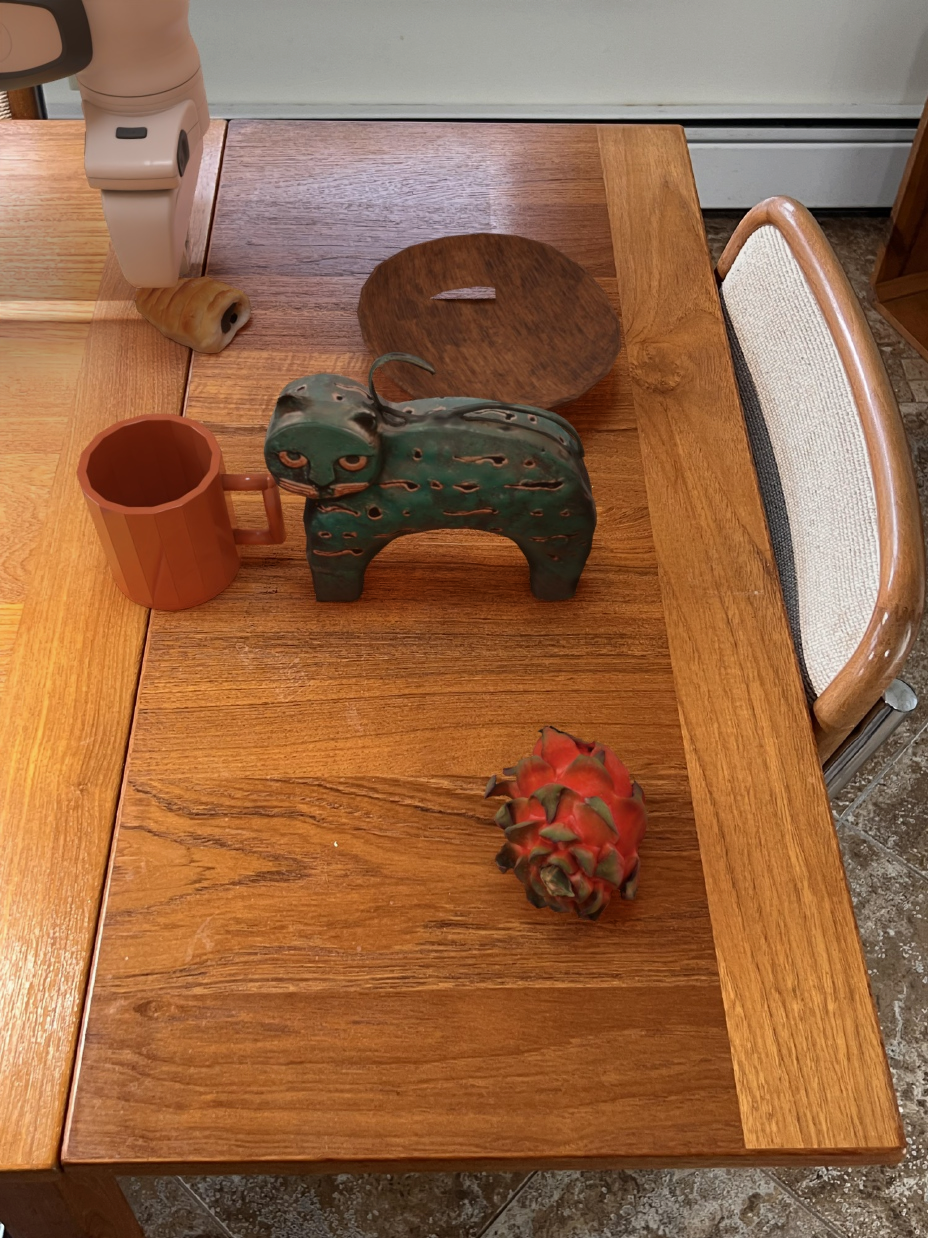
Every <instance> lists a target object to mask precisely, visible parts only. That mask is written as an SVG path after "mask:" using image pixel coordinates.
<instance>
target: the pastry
mask: <svg viewBox="0 0 928 1238" xmlns="http://www.w3.org/2000/svg"><path fill="white" fill-rule="evenodd" d="M134 294H135V295H134V296H135V299H134V306H135V309H136V311H137V313H138V314H140V315H141V316H142V317H143V318H144V319H145V320H147V321H148V322H149V323H150V324H151V325H152V326H153V327H154V328H156V329H157V330H159V332H160V333H161V335H163V337H165V338H168V339H171V340H172V341H174V342H175V343H178V344H180V345H182V346H184V347H185V346H186V347H189V348H191V350H193V351H195V352H198V353H201V354H218V353H221V352H222V351H223V350H224V349H225V347H227V346H228V345H229V344H230V343H231V341H232V340H233V338H234V337H235V335H236V333H237V331H238V330H240V329H241V328H242V327H243V326H244V325H246V323H247V322H248V321H249V320H250V318H251V315H252V305H251V301H250V298H249V296H248V295H247V294H246V293H245V292H244V291H243V290H242V289H238V288H236V287H232V286H231V285H228V284H227V283H225V282H222V281H219V280H214V279H213V278H211V277H209V276H206V275H205V276H200V277H195V278H193V277H192V278H191V277H183V276H181V275H179V277H178V282H177V284H176V285H175V286H174V287H169V288H138V289H137V290H135V291H134Z"/></svg>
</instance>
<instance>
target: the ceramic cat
mask: <svg viewBox="0 0 928 1238" xmlns="http://www.w3.org/2000/svg"><path fill="white" fill-rule="evenodd" d="M388 361H402V362H406V363H409V364H413V365H415V366H417V367H419V368H421V369H424V370H426V371H428V372H430V373H431V374H432V375H433V374H435V373H436V372H435V370H434V369H433V367H432V366H431V365H430V364H429V363H427V362H426V361H425V360H423V359H421V358H419V357H417V356H414V355H411V354H407V353H402V352H392V353H387V354H385V355H382V356H380V357H377V359H376V360H374V361H372V363H371V366H370V369H369V372H368V386H367V385H365V384H364V383H361V382H359V381H357V380H355V379H352V378H350V377H348V376H345V375H341V374H337V373H328V372H321V373H315V374H310V375H305V376H303V377H299V378H297V379H295V380H293V381H290V382H288V383H287V384H286V385H285V386H284V387H283V389H282V390H280V393H279V396H278V398H277V400H276V403H275V406H274V408H273V411H272V413H271V416H270V419H269V423H268V425H267V429H266V433H265V437H264V446H263V458H264V463H265V465H266V469H267V470H268V472H269V474H271V475H272V476H273V478H274V480H275V482H276V484H277V485H278V487H279V488H281V489H282V490H284V491H286V492H288V493H290V494H293V495H297V496H301V497H304V498H305V502H304V508H303V515H302V523H303V526H304V534H305V536H306V537H305V558H306V562H307V564H308V567H309V570H310V574H311V578H312V584H313V591H314V596H315V603H354V602H356V601H358V600H359V599H360V598H361V596H362V595H363V591H364V587H365V584H366V583H365V581H366V580H365V574H366V572H367V571H366V570H367V568H368V566H369V565H370V563H371V562H372V561H373V560H374V559H375V557H376V556H378V554H379V553H380V552H382V550H383V549H384V548H386V547H387V546H388V545H389V544H391V543H392V542H393V541H394V540H397V539H399V538H401V537H404V536H410V535H414V534H420V533H425V532H431V531H437V530H472V531H480V532H485V533H491V534H494V535H498V536H501V537H504V538H507V539H509V540H510V541H512V542H513V543H514V544H516V545H517V547H518V548H519V550H520V552H521V553H522V555H523V556H524V557H525V560H526V562H527V566H528V572H529V578H528V580H529V581H528V582H529V588H530V592H531V593H532V595H533V596H534V598H535V599H536V600H543V601H545V602H558V601H559V602H560V601H566V600H571V599H573V598H574V597H575V596H576V594H577V590H578V586H579V583H580V581H581V577H582V574H583V571H584V570H585V566H586V564H587V561H588V559H589V557H590V555H591V551H592V548H593V542H594V535H595V531H596V528H597V524H598V511H597V506H596V501H595V499H594V496H593V490H592V483H591V478H590V474H589V470H588V469H587V466H586V464H585V460H584V458H585V457H586V452H585V451H586V450H585V448H584V445H583V443H582V439H581V436H580V435H579V433H578V432H577V430H576V428H575V427H574V426H573V425H572V424H571V423H570V422H569V421H568V420H567V419H566V418H564V417H562V416H561V415H559V414H558V413H556V412H550V411H547V410H544V409H541V408H537V407H532V406H527V405H522V404H513V403H503V402H497V401H492V400H486V399H479V398H468V397H438V398H429V399H419V400H413V399H412V400H407V401H401V402H393V401H388V399H386V398H383V396H381V395H380V394H379V393H377V391H376V388H375V384H374V379H373V378H374V372H375V370H376V369H377V368H379V365H381V364H383V363H386V362H388ZM572 437H573V438H572Z"/></svg>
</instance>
